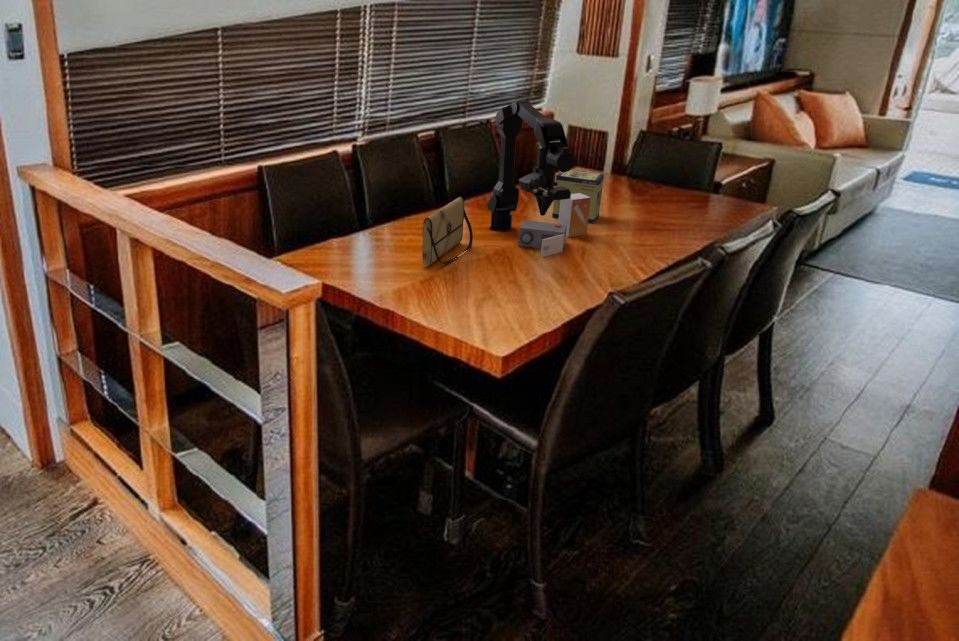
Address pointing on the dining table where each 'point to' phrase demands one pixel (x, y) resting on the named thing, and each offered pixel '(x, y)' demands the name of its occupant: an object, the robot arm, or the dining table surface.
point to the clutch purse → (444, 231)
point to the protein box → (581, 190)
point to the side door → (552, 245)
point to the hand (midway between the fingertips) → (542, 215)
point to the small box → (575, 214)
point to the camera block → (539, 232)
